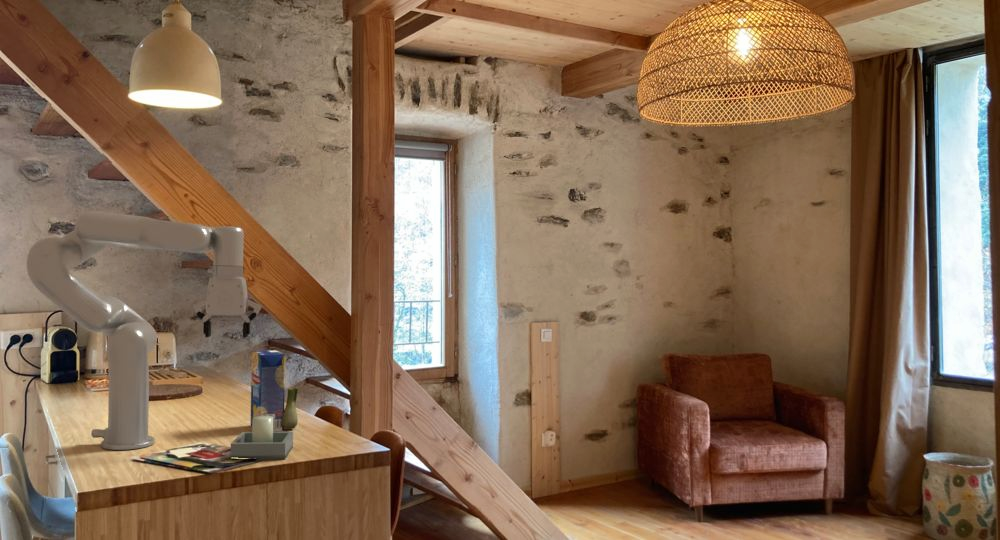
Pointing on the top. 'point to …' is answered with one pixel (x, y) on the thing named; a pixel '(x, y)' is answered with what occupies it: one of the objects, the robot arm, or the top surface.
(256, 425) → the white ceramic cup
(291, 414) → the fennel bulb
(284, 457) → the bin
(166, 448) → the top surface
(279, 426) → the beverage box
